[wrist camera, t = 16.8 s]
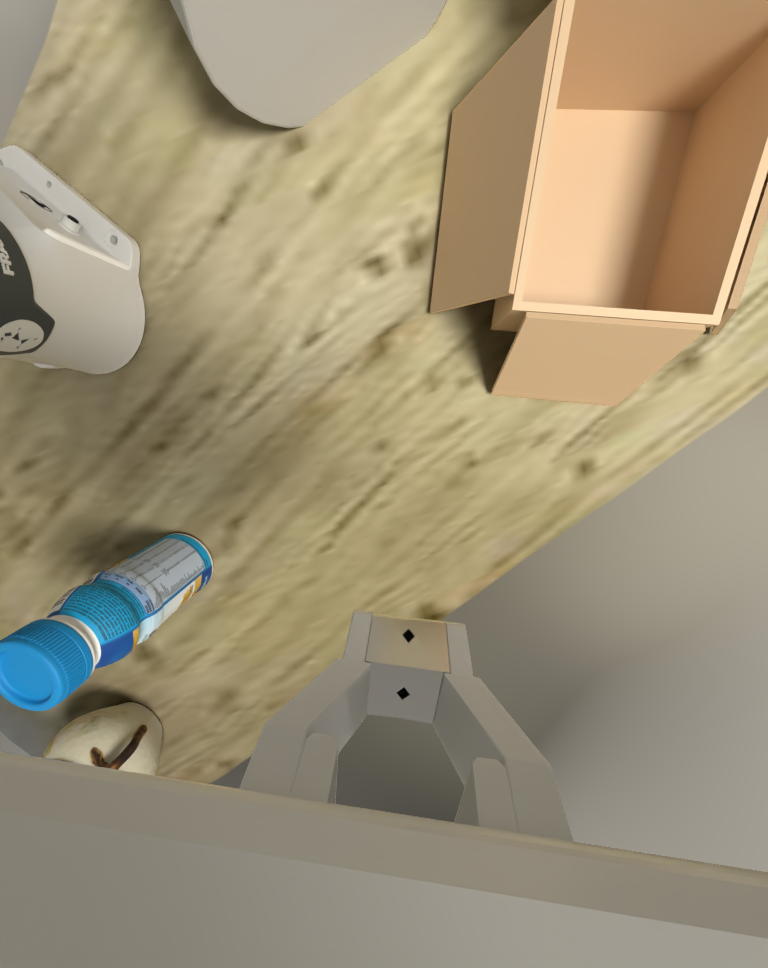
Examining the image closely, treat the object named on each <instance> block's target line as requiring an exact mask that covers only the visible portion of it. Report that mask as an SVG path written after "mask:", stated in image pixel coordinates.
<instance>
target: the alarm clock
mask: <svg viewBox="0 0 768 968" xmlns="http://www.w3.org/2000/svg"><path fill="white" fill-rule="evenodd" d="M170 2H171V4H172V6H173V8H174V10H175V12H176V14H177V16H178V18H179V20H180V22H181V24H182V26H183V28H184V30H185V33H186V35H187V37H188V39H189V41H190V43H191V45H192V47H193V49H194V51H195V52H196V54H197V56H198V58H199V60H200V62H201V64H202V65H203V67H204V69H205V71H206V73H207V75H208V77H209V79H210V80H211V82H212V84H213V85H214V86H215V87H216V88H217V89H218V90H219V91H220V92H221V93H222V94H223V95H224V97H225V98H226V99H227V100H228V101H229V102H230V103H231V104H232V105H233V106H234V107H235V108H236V109H238V110H239V111H241V112H243V113H245V114H247V115H248V116H250V117H252V118H254V119H256V120H258V121H259V122H261V123H264V124H269V125H274V126H279V127H284V128H296V127H302V126H304V125H306V124H307V123H309V122H310V121H311V120H313V119H314V118H315V117H317V116H318V115H319V114H321V113H322V112H323V111H325V110H326V109H328V108H329V107H330V106H332V105H333V104H334V103H336V102H337V101H338V100H340V99H341V98H343V97H344V96H345V95H347V94H348V93H349V92H351V91H352V90H353V89H355V88H356V87H357V86H359V85H360V84H362V83H363V82H364V81H366V80H367V79H368V78H370V77H371V76H372V75H374V74H375V73H377V72H378V71H379V70H381V69H382V68H383V67H385V66H386V65H387V64H389V63H390V62H391V61H393V60H394V59H396V58H397V57H398V56H400V55H401V54H402V53H404V52H405V51H406V50H408V49H409V48H410V47H412V46H413V45H415V44H416V43H417V42H419V41H420V40H421V39H423V38H424V37H425V36H426V35H427V34H428V33H429V31H430V30H431V28H432V27H433V25H434V24H435V22H436V20H437V19H438V17H439V16H440V14H441V12H442V10H443V8H444V6H445V4H446V2H447V0H170Z"/></svg>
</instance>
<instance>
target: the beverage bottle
mask: <svg viewBox="0 0 768 968" xmlns="http://www.w3.org/2000/svg"><path fill="white" fill-rule="evenodd" d="M212 574H213V561H212V557H211V555H210V553H209V551H208V549H207V548H206V547H205V546H204V545H203V544H202V543H201V542H200V541H199V540H197V539H196V538H194V537H192V536H190V535H186V534H181V533H175V534H170V535H167V536H165V537H163V538H161V539H159V540H158V541H156V542H155V543H153V544H151V545H150V546H148V547H146V548H144V549H142V550H141V551H139V552H137V553H135V554H133V555H132V556H130V557H128V558H126V559H125V560H123V561H121V562H119V563H117V564H116V565H114V566H112V567H110V568H108V569H106V570H103V571H100V572H98V573H96V574H95V575H93V576H92V577H90V578H89V579H88V580H87V581H86V582H85V583H84V584H83V585H81V586H77V587H75V588H73V589H71V590H69V591H68V592H67V593H65V594H64V595H63V596H62V597H61V598H60V599H59V600H58V601H57V602H56V603H55V605H54V606H53V607H52V609H51V610H50V612H49V613H48V615H47V617H46V618H43V619H39V620H36V621H34V622H31V623H30V624H28V625H26V626H24V627H22V628H21V629H19V630H17V631H16V632H14V633H12V634H11V635H9V636H7V637H6V638H4V639H2V640H0V694H1V695H2V696H3V697H4V698H5V699H7V700H8V701H10V702H11V703H13V704H15V705H16V706H19V707H21V708H24V709H27V710H32V711H43V710H47V709H50V708H52V707H54V706H55V705H57V704H58V703H60V702H62V701H63V700H64V699H65V698H66V697H68V696H69V695H70V694H71V693H72V692H73V691H75V690H76V689H77V688H78V687H79V686H80V685H81V684H83V683H84V682H85V681H86V680H87V679H88V678H89V676H90V675H91V674H92V672H93V670H94V669H95V668H100V667H103V666H106V665H109V664H112V663H114V662H116V661H118V660H120V659H122V658H124V657H125V656H127V655H128V654H129V653H130V652H132V650H133V649H134V648H135V646H136V645H137V644H139V643H141V642H143V641H145V640H146V639H148V638H149V637H150V636H151V635H153V634H154V633H155V632H156V631H157V629H158V628H159V626H160V624H161V623H162V622H164V621H165V620H166V619H167V618H168V617H169V616H170V615H171V614H172V613H174V612H175V611H176V610H177V609H178V608H179V607H180V606H181V605H182V604H184V603H185V602H186V601H187V600H188V599H189V598H190V597H192V596H193V595H194V594H195V593H197V592H198V591H199V590H201V589H202V588H203V587H204V586H205V585H206V584H207V583H208V582H209V581H210V579H211V577H212Z"/></svg>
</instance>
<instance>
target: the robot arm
mask: <svg viewBox="0 0 768 968" xmlns="http://www.w3.org/2000/svg"><path fill="white" fill-rule="evenodd" d="M116 239H117V240H118V242H117V244H116ZM139 265H140V250H139V246H138V244H137V243H136V241H135V240H134V239H133V238H132V237H130V236H129V235H128V234H127V233H126V232H124V231H123V230H122V229H121V228H120V227H118V226H117V225H116V224H115V223H114V222H112V221H111V220H110V219H109V218H108V217H106V216H105V215H104V214H103V213H102V212H100V211H99V210H98V209H97V208H96V207H94V206H93V205H92V204H91V203H90V202H88V201H87V200H86V199H85V198H84V197H82V196H81V195H80V194H79V193H78V192H76V191H75V190H74V189H73V188H72V187H70V186H69V185H68V184H67V183H66V182H64V181H63V180H62V179H61V178H60V177H58V176H57V175H56V174H55V173H54V172H52V171H51V170H50V169H49V168H48V167H46V166H45V165H44V164H43V163H42V162H40V161H39V160H38V159H37V158H35V157H34V156H33V155H32V154H31V153H29V152H28V151H26V150H25V149H22V148H20V147H18V146H16V145H11V146H7V147H3V148H1V149H0V358H5V359H12V360H18V361H25V362H31V363H33V364H34V365H35V366H37V367H39V368H45V369H60V368H68V369H73V370H76V371H80V372H84V373H88V374H106V373H110V372H113V371H116V370H118V369H120V368H121V367H123V366H124V365H125V364H127V363H128V362H129V361H130V360H131V358H132V357H133V356H134V354H135V353H136V351H137V349H138V348H139V345H140V343H141V340H142V337H143V332H144V326H145V308H144V301H143V296H142V292H141V288H140V284H139V277H138V275H139ZM366 714H369V715H378V716H388V717H395V718H402V719H408V720H414V721H420V722H425V723H431V724H433V726H434V729H435V731H436V733H437V734H438V736H439V738H440V740H441V742H442V744H443V746H444V748H445V750H446V752H447V754H448V756H449V758H450V760H451V762H452V763H453V765H454V767H455V769H456V771H457V773H458V775H459V777H460V779H461V781H462V783H463V785H464V787H465V789H464V793H463V796H462V799H461V802H460V805H459V809H458V812H457V815H456V818H455V821H454V823H453V822H446V821H440V820H433V819H428V818H421V817H415V816H409V815H402V814H395V813H389V812H383V811H377V810H370V809H364V808H357V807H351V806H345V805H338V804H335V800H336V798H335V797H336V781H337V761H338V760H337V759H338V753H339V752H340V751H341V749H342V748H343V747H344V745H345V744H346V743H347V741H348V740H349V739H350V737H351V736H352V735H353V733H354V732H355V731H356V729H357V728H358V727H359V725H360V724H361V723H362V721H363V720H364V719H365V717H366ZM0 968H768V872H763V871H757V870H751V869H744V868H738V867H732V866H725V865H719V864H712V863H705V862H700V861H693V860H687V859H681V858H674V857H668V856H661V855H656V854H649V853H642V852H636V851H630V850H624V849H617V848H611V847H604V846H598V845H592V844H586V843H579V842H573V838H572V835H571V831H570V828H569V825H568V822H567V818H566V815H565V811H564V808H563V805H562V801H561V797H560V794H559V791H558V787H557V784H556V780H555V777H554V774H553V770H552V767H551V765H550V764H549V763H548V762H547V761H546V759H545V758H544V757H543V756H542V754H541V753H540V752H539V751H538V750H537V748H536V747H535V746H534V745H533V743H532V742H531V741H530V740H529V738H528V737H527V736H526V735H525V734H524V732H523V731H522V730H521V729H520V728H519V726H518V725H517V724H516V723H515V721H514V720H513V719H512V718H511V716H510V715H509V714H508V713H507V711H506V710H505V709H504V708H503V707H502V705H501V704H500V703H499V702H498V700H497V699H496V698H495V697H494V696H493V694H492V693H491V692H490V691H489V689H488V688H487V687H486V686H485V684H484V683H483V682H482V681H481V680H480V678H477V677H473V673H472V665H471V659H470V653H469V646H468V639H467V632H466V627H465V625H464V624H462V623H452V622H444V621H435V620H427V619H419V618H411V617H402V616H396V615H390V614H383V613H377V612H367V611H361V610H355V611H354V613H353V616H352V620H351V625H350V629H349V633H348V638H347V642H346V646H345V650H344V655H343V659H339V658H337V659H336V660H334V661H333V662H332V663H331V664H330V665H329V666H328V667H327V668H326V669H325V670H323V671H322V672H321V673H320V674H319V675H318V676H317V677H316V678H315V679H313V680H312V681H311V682H310V683H309V684H308V685H307V686H306V687H305V688H303V689H302V690H301V691H300V692H299V693H298V694H297V695H296V696H295V697H293V698H292V699H291V700H290V701H289V702H288V703H287V704H286V705H285V706H284V707H282V708H281V709H280V710H279V711H278V712H277V713H276V714H275V715H274V716H272V717H271V718H270V719H269V720H268V721H267V722H266V723H265V724H264V727H263V729H262V732H261V735H260V737H259V740H258V742H257V745H256V747H255V750H254V752H253V755H252V757H251V760H250V762H249V765H248V768H247V770H246V773H245V775H244V778H243V780H242V783H241V785H240V788H239V789H237V788H230V787H224V786H218V785H211V784H205V783H199V782H192V781H186V780H180V779H173V778H167V777H161V776H154V775H148V774H142V773H135V772H129V771H123V770H116V769H110V768H104V767H97V766H91V765H85V764H79V763H72V762H66V761H60V760H53V759H47V758H41V757H35V756H28V755H22V754H15V753H9V752H3V751H0Z"/></svg>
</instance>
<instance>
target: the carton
mask: <svg viewBox="0 0 768 968" xmlns="http://www.w3.org/2000/svg"><path fill="white" fill-rule="evenodd" d="M767 216H768V0H552V1H551V3H550V4H549V5H548V6H547V7H546V8H545V9H544V10H543V11H542V13H541V14H540V15H539V16H538V17H537V18H536V19H535V20H534V21H533V23H532V24H531V25H530V26H529V27H528V28H527V29H526V30H525V31H524V32H523V34H522V35H521V36H520V37H519V38H518V39H517V40H516V41H515V42H514V44H513V45H512V46H511V47H510V48H509V49H508V50H507V51H506V52H505V54H504V55H503V56H502V57H501V58H500V59H499V60H498V61H497V62H496V63H495V65H494V66H493V67H492V68H491V69H490V70H489V71H488V72H487V73H486V75H485V76H484V77H483V78H482V79H481V80H480V81H479V82H478V83H477V84H476V86H475V87H474V88H473V89H472V90H471V91H470V92H469V93H468V94H467V96H466V97H465V98H464V99H463V100H462V101H461V102H460V103H459V104H458V106H457V107H456V108H455V109H454V110H453V114H452V123H451V132H450V140H449V149H448V158H447V167H446V175H445V184H444V193H443V202H442V210H441V219H440V228H439V237H438V246H437V254H436V263H435V272H434V281H433V289H432V298H431V307H430V313H434V314H435V313H439V312H443V311H447V310H451V309H455V308H459V307H463V306H467V305H471V304H475V303H480V302H484V301H488V300H492V299H495V304H494V310H493V317H492V323H491V329H490V330H499V331H512V332H517V334H516V337H515V339H514V341H513V343H512V345H511V348H510V350H509V352H508V354H507V357H506V359H505V361H504V363H503V366H502V368H501V370H500V372H499V375H498V377H497V379H496V381H495V384H494V386H493V388H492V392H491V394H493V395H504V396H514V397H525V398H535V399H546V400H556V401H567V402H578V403H588V404H599V405H609V406H616V405H617V404H619V403H620V402H621V401H622V400H623V399H625V398H626V397H627V396H628V395H629V394H631V393H632V392H633V391H634V390H635V389H637V388H638V387H639V386H640V385H641V384H643V383H644V382H645V381H646V380H647V379H649V378H650V377H651V376H652V375H653V374H655V373H656V372H657V371H658V370H659V369H661V368H662V367H663V366H664V365H665V364H667V363H668V362H669V361H670V360H671V359H673V358H674V357H675V356H676V355H677V354H679V353H680V352H681V351H682V350H683V349H685V348H686V347H687V346H688V345H689V344H691V343H692V342H693V341H694V340H695V339H697V338H698V337H699V336H700V335H701V334H703V333H704V332H705V331H706V329H705V328H707V327H712V326H713V329H712V332H711V334H719V332H720V331H721V330H722V328H723V327H724V326H725V324H726V323H727V322H728V320H729V319H730V318H731V316H732V315H733V314H734V312H735V311H736V310H737V308H738V305H739V302H740V299H741V296H742V293H743V290H744V286H745V283H746V280H747V277H748V274H749V271H750V268H751V265H752V262H753V259H754V256H755V253H756V249H757V246H758V243H759V240H760V237H761V234H762V231H763V228H764V225H765V222H766V219H767Z"/></svg>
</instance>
